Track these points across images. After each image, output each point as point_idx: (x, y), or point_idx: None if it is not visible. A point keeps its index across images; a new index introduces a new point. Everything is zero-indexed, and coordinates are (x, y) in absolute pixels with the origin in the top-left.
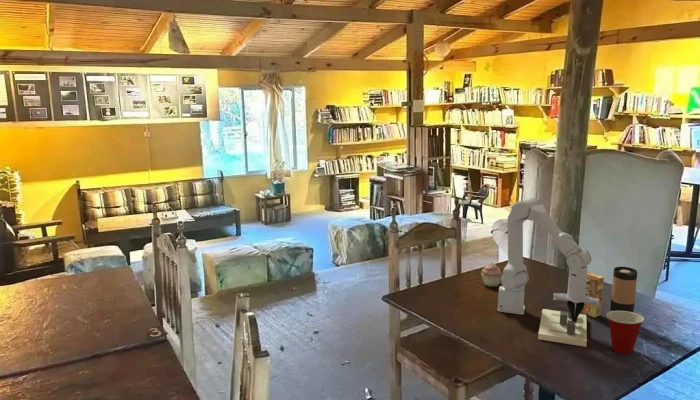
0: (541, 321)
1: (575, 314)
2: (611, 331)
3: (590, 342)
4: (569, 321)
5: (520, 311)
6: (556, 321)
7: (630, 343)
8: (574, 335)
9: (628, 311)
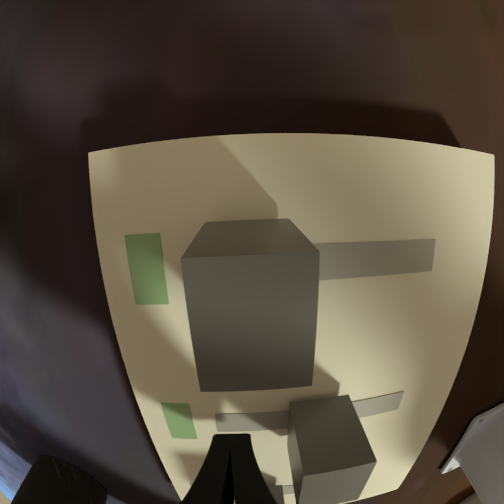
0: (452, 375)
1: (220, 500)
2: None
3: (95, 252)
4: (285, 358)
5: (478, 430)
6: None
7: None
8: None
9: (14, 501)
